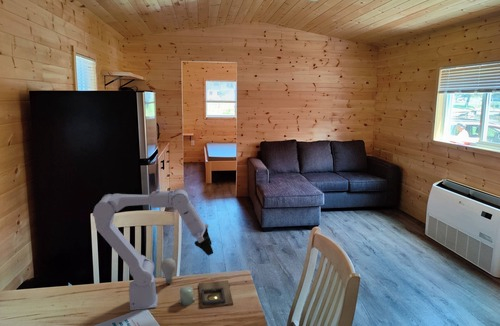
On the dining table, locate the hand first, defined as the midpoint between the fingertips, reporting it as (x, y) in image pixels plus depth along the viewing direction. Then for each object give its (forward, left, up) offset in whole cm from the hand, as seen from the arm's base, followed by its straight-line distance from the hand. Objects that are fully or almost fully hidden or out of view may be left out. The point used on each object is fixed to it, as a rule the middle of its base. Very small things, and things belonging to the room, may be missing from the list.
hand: (210, 249), depth 134 cm
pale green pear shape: (-9, -1, -20) cm, 22 cm away
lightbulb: (-16, +13, -21) cm, 29 cm away
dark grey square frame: (+1, -1, -20) cm, 20 cm away
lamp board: (+2, +2, -20) cm, 20 cm away
